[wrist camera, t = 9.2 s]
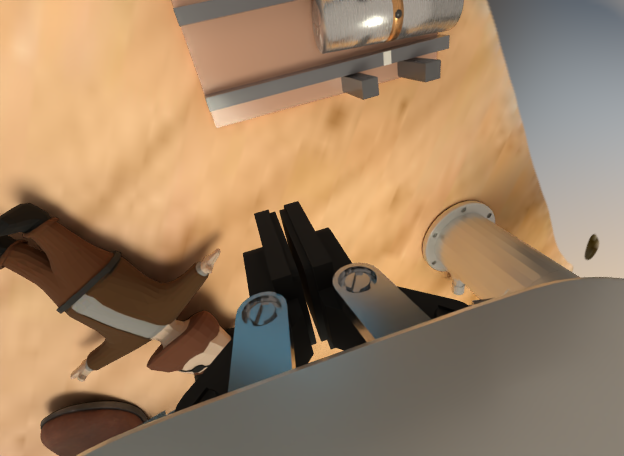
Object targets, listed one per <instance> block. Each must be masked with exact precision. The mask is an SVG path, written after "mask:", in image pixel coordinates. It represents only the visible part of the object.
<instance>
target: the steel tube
mask: <svg viewBox="0 0 624 456" xmlns="http://www.w3.org/2000/svg"><path fill="white" fill-rule="evenodd" d="M463 3H464V0H313V5H312V26H313V33H314V38H315V41H316V45H317V47H318V49H319V51H320V52H321V53H322V54H325V53H330V52H335V51H341V50H346V49H351V48H357V47H362V46H367V45H373V44H378V43H385V42H390V41H394V40H399V39H405V38H410V37H415V36H421V35H426V34H431V33H437V32H442V31H447V30H450V29H452V28H453V27H454V26H455V25H456V23H457V22H458V20H459V18H460V15H461V12H462V9H463Z"/></svg>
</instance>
